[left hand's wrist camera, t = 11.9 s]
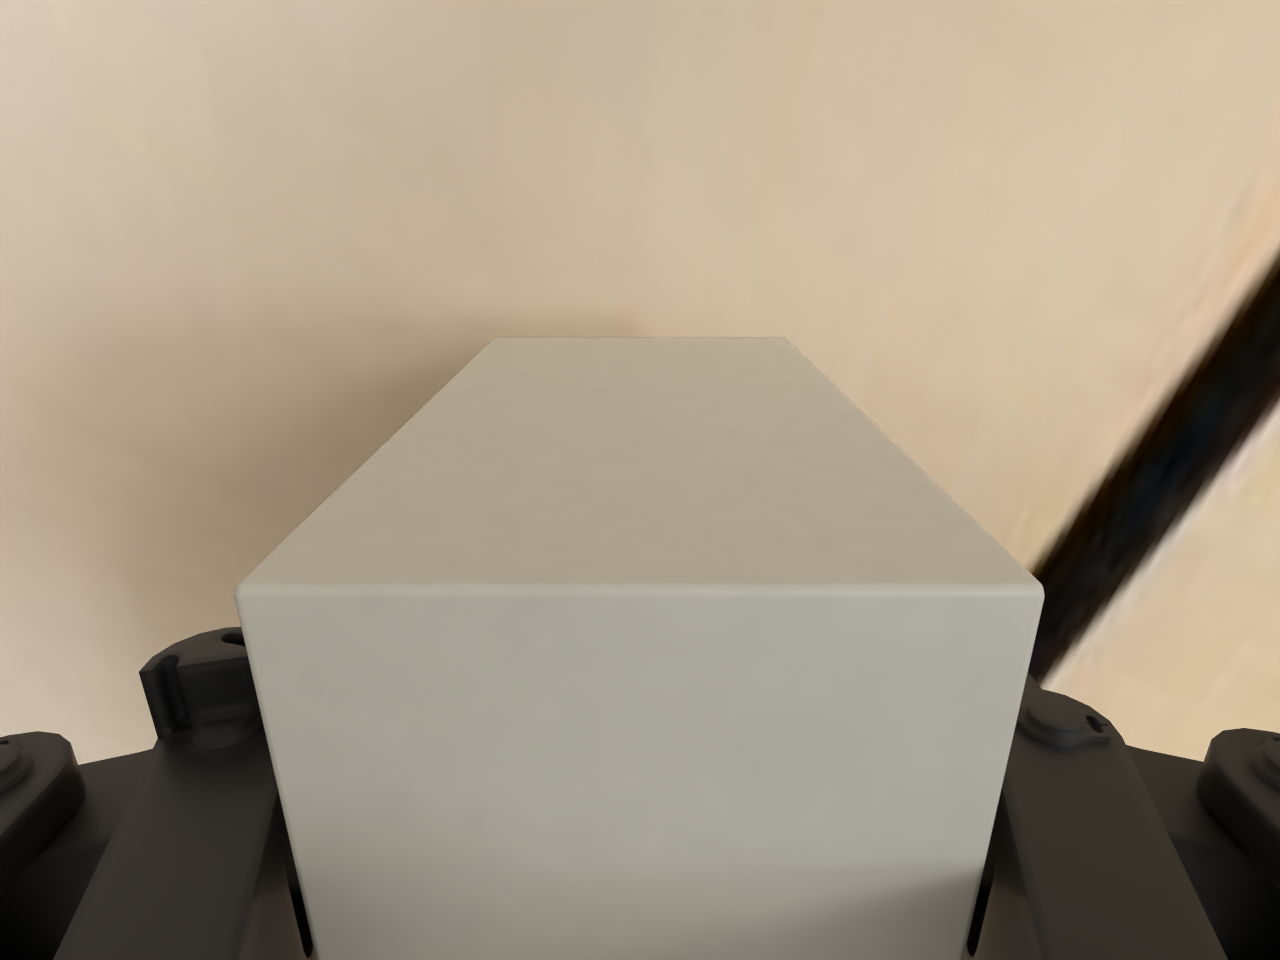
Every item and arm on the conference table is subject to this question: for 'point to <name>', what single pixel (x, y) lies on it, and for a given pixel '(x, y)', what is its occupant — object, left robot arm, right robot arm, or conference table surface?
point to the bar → (639, 670)
